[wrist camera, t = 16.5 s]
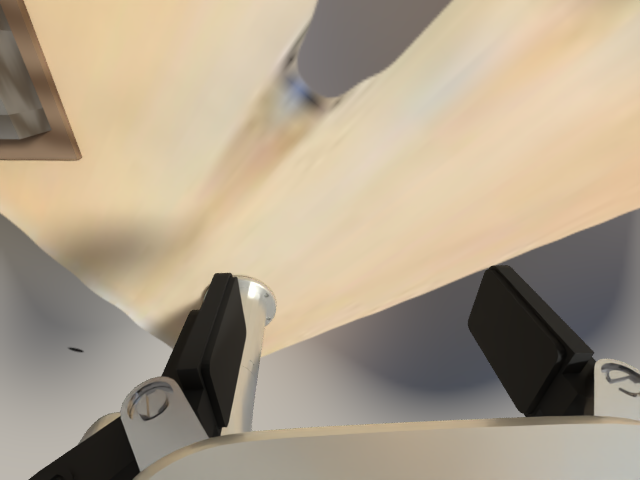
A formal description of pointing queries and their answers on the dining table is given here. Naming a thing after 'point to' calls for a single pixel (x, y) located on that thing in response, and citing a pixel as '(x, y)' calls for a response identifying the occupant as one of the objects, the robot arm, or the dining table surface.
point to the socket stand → (29, 94)
